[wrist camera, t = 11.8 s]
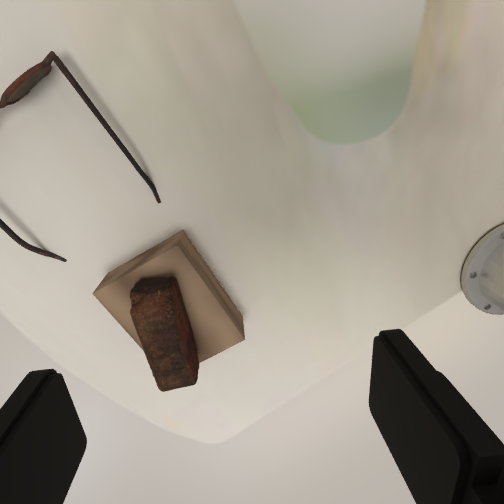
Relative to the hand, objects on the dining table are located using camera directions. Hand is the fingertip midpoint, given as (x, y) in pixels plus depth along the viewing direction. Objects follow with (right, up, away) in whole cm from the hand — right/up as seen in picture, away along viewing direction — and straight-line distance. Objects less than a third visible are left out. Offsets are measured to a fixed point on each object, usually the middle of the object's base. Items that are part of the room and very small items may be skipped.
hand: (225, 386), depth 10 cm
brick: (-8, -3, +24) cm, 26 cm away
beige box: (-8, -1, +29) cm, 30 cm away
